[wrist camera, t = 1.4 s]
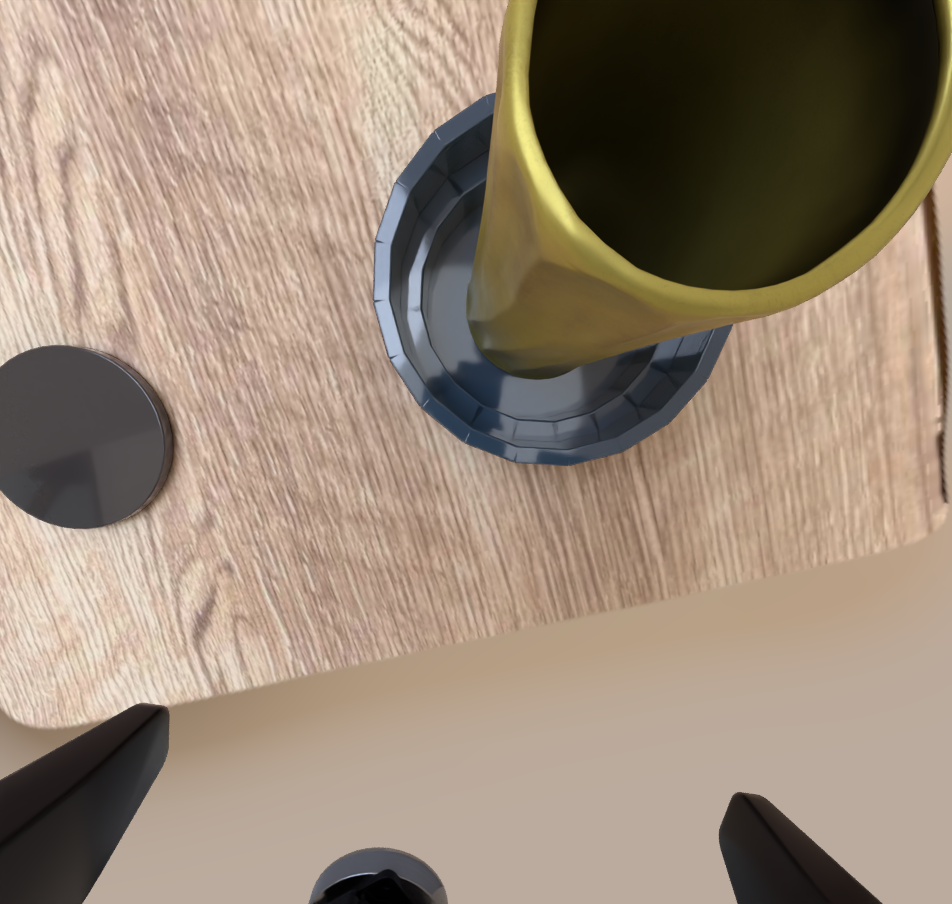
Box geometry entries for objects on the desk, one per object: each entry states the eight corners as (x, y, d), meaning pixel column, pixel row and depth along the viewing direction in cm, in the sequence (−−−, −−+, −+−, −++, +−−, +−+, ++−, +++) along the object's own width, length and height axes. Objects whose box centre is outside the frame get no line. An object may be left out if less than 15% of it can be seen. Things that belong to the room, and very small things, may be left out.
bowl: (725, 353, 20) (801, 342, 15) (492, 497, 20) (498, 528, 16) (587, 93, 18) (626, -4, 14) (339, 261, 19) (299, 221, 14)
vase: (473, 222, 18) (490, -331, 4) (619, 239, 19) (1103, -236, 4) (459, 372, 19) (434, 327, 5) (598, 386, 19) (947, 383, 5)
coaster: (210, 465, 20) (202, 467, 19) (70, 557, 20) (58, 562, 20) (94, 309, 19) (83, 307, 18) (-50, 410, 19) (-66, 411, 19)
